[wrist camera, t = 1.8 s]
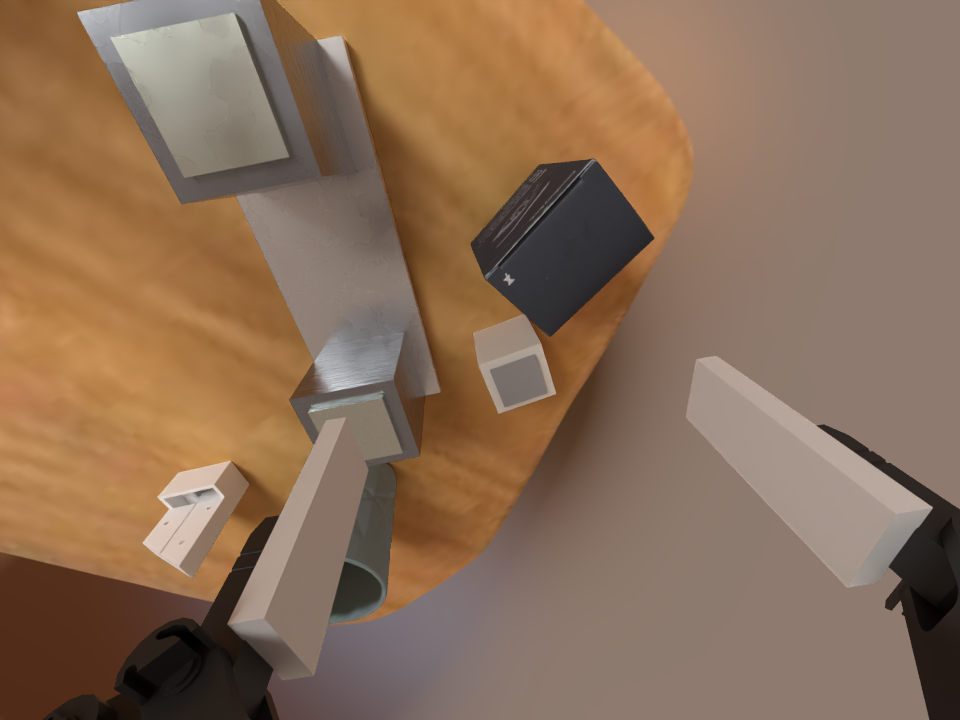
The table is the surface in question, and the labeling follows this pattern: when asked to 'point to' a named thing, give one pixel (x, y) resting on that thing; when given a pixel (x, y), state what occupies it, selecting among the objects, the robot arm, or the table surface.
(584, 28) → the table surface
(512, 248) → the box
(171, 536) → the white slotted bracket
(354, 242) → the rail plate
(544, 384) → the block
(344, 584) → the grey green plant pot
